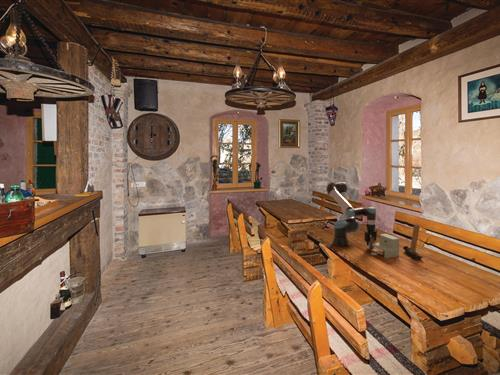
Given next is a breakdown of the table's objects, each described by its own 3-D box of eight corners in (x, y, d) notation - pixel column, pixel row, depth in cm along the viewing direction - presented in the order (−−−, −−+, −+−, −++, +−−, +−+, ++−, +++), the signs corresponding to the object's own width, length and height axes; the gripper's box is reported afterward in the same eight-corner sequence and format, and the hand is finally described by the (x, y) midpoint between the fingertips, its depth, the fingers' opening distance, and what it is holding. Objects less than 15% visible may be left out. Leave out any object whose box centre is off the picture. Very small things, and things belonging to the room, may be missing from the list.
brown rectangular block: (367, 248, 253) (367, 236, 251) (370, 248, 254) (370, 235, 252) (381, 255, 236) (382, 242, 234) (385, 254, 237) (386, 241, 235)
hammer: (422, 262, 225) (428, 230, 216) (416, 262, 225) (422, 230, 216) (408, 250, 244) (413, 219, 235) (402, 250, 244) (407, 220, 235)
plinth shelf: (372, 252, 246) (372, 235, 244) (384, 250, 250) (385, 233, 248) (385, 258, 230) (386, 240, 228) (398, 256, 234) (399, 238, 233)
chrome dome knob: (369, 253, 243) (369, 251, 243) (375, 253, 244) (376, 251, 243) (373, 255, 237) (373, 254, 237) (379, 255, 238) (379, 253, 238)
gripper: (366, 225, 242) (365, 250, 245) (381, 223, 247) (380, 248, 250) (360, 223, 249) (360, 248, 252) (375, 221, 254) (374, 245, 257)
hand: (370, 248), depth 251 cm, fingers closed on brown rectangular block, 4 cm apart
